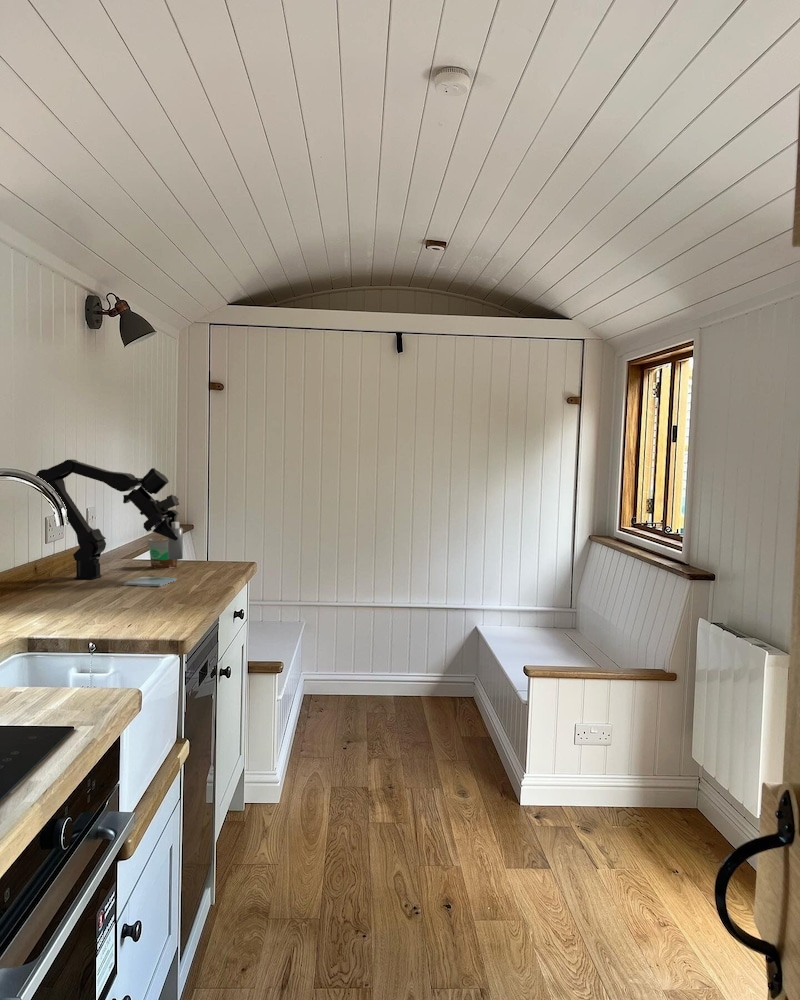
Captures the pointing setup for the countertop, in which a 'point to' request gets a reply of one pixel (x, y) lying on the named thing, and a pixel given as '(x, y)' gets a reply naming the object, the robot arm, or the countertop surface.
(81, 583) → the countertop surface
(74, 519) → the robot arm
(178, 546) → the grey tall rounded piece
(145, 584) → the coaster
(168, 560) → the food container
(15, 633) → the countertop surface
